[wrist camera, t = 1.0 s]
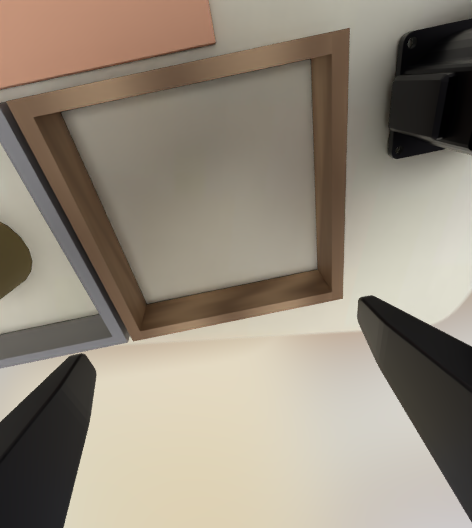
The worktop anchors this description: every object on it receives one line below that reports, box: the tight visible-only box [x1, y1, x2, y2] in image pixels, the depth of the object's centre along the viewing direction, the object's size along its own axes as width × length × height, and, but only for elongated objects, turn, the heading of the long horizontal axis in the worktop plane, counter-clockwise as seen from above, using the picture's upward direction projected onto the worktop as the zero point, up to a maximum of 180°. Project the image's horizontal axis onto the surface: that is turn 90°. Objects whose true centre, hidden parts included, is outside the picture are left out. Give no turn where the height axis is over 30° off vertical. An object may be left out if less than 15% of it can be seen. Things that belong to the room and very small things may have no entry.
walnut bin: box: [6, 28, 350, 341], centre depth 18 cm, size 16×16×3 cm
